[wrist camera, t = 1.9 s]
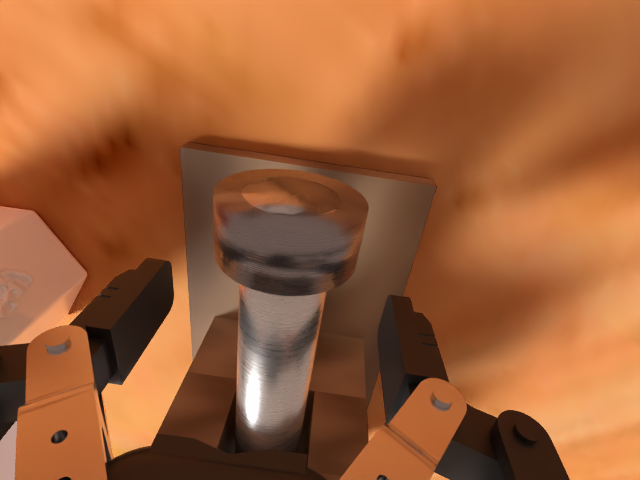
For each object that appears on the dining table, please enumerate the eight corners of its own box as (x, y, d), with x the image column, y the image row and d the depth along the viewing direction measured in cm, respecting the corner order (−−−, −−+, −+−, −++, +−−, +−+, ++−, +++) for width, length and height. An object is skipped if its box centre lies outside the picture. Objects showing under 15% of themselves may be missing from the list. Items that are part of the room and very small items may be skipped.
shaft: (237, 161, 13) (186, 215, 9) (365, 180, 13) (373, 243, 9) (230, 501, 24) (207, 591, 20) (297, 510, 24) (287, 603, 20)
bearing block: (432, 179, 17) (549, 366, 7) (348, 457, 29) (347, 676, 19) (188, 142, 17) (-36, 278, 7) (202, 435, 29) (124, 644, 19)
